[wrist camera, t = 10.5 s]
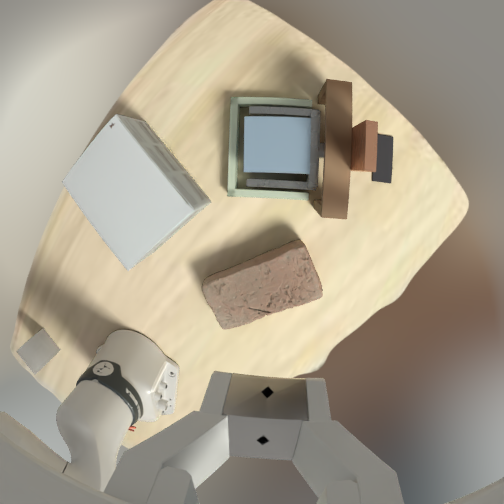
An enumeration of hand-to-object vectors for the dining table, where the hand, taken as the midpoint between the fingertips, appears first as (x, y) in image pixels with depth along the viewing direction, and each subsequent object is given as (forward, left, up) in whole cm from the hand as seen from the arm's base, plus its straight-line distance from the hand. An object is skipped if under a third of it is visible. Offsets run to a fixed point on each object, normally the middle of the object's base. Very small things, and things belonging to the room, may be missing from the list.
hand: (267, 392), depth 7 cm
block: (+9, +1, -35) cm, 36 cm away
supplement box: (+3, +20, -36) cm, 41 cm away
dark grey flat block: (+9, -15, -35) cm, 39 cm away
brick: (-11, +2, -36) cm, 37 cm away
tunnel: (+9, -6, -35) cm, 37 cm away
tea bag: (-32, +52, -35) cm, 71 cm away
